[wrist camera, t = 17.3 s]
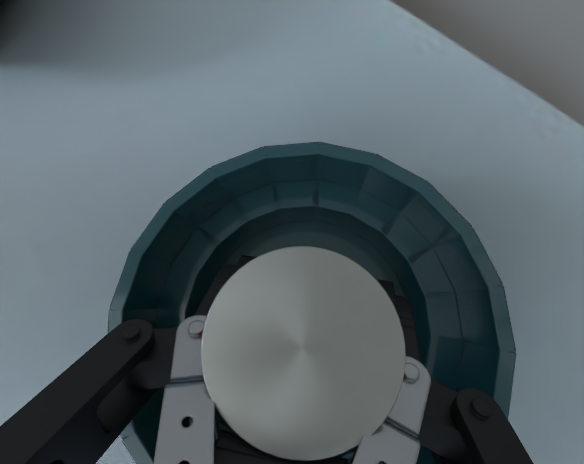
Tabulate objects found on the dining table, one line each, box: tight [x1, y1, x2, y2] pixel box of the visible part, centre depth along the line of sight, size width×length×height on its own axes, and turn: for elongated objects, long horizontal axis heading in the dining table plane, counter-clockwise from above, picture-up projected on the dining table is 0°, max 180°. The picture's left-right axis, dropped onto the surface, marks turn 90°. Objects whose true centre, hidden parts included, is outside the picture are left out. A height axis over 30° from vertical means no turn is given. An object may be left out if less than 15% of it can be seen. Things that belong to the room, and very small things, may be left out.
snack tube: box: [201, 246, 406, 462], centre depth 13 cm, size 5×5×10 cm
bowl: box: [108, 142, 516, 464], centre depth 16 cm, size 15×15×6 cm
